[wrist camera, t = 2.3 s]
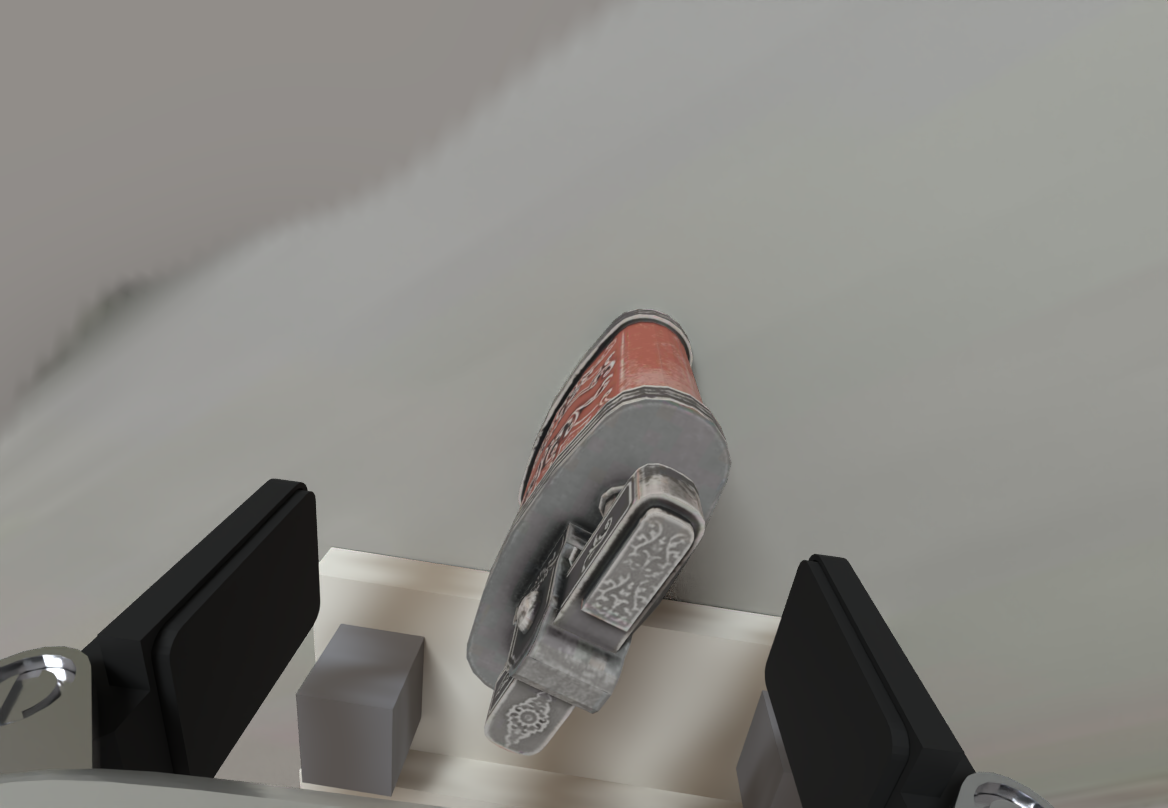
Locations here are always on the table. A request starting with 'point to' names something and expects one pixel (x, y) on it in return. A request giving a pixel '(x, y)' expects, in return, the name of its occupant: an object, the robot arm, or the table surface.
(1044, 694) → the table surface
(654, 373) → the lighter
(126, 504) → the table surface
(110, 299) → the table surface
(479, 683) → the white base plate
